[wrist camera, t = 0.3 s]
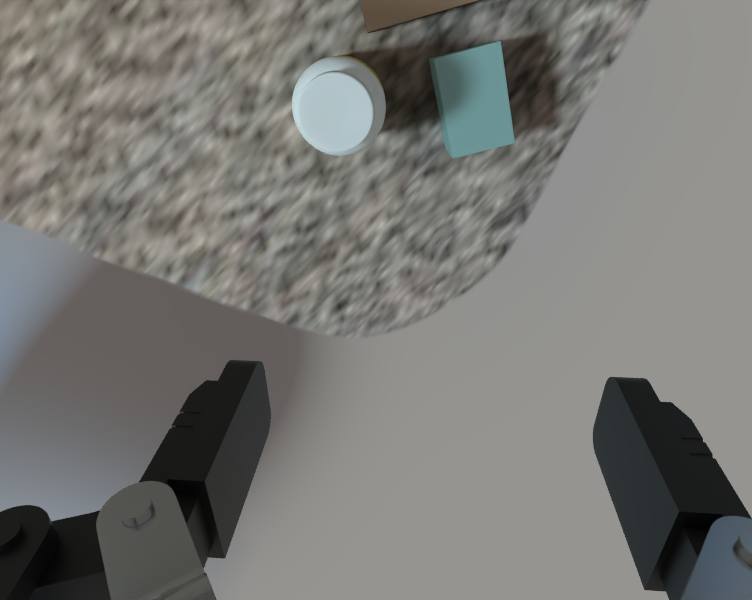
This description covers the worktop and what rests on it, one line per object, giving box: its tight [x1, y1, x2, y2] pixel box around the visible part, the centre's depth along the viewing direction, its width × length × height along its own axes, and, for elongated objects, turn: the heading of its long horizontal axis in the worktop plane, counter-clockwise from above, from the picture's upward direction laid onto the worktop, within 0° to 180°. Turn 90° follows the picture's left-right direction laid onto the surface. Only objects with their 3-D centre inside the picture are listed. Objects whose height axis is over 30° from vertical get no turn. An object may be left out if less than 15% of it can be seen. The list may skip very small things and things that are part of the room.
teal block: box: [429, 41, 515, 158], centre depth 34 cm, size 6×4×4 cm, turn 14°
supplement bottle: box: [292, 55, 386, 156], centre depth 32 cm, size 5×5×10 cm
